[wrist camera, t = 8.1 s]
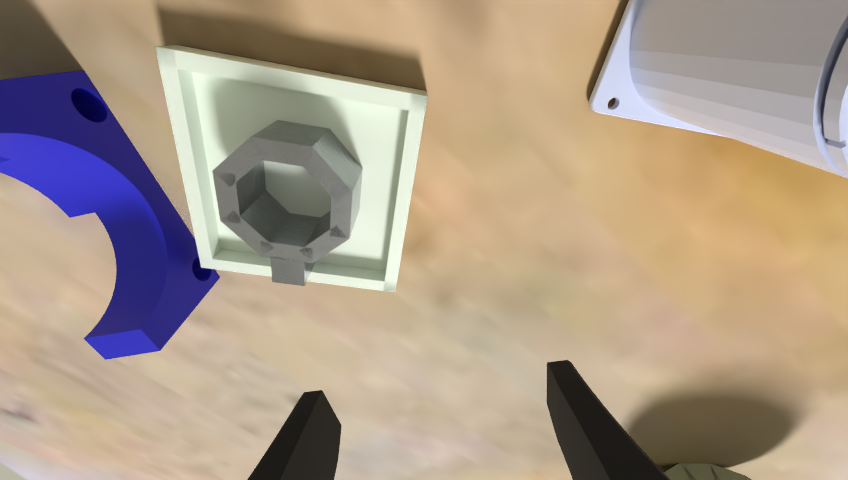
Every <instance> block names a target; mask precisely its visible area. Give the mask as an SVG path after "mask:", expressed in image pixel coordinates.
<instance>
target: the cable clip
mask: <svg viewBox="0 0 848 480" xmlns="http://www.w3.org/2000/svg"><path fill="white" fill-rule="evenodd" d="M0 172H1V173H3V174H6V175H8V176H11V177H13V178H16V179H18V180H20V181H22V182H24V183H26V184H28V185H29V186H31V187H33V188H34V189H36V190H38V191H39V192H41V193H42V194H44V195H45V196H47V197H48V198H49V199H51V200H52V201H53V202H54V203H55V204H57V205H58V206H59V207H60V208H61V209H62V210H63V211H64V212H65V213H66V214H67V215H68V216H69V217H75V216H79V215H84V214H89V213H94V212H95V213H96V214H97V216H98V217H99V219H100V220H101V222H102V223H103V225H104V226H105V228H106V230H107V232H108V234H109V237H110V239H111V241H112V244H113V248H114V251H115V257H116V266H117V274H116V283H115V289H114V292H113V296H112V299H111V301H110V304H109V306H108V308H107V310H106V312H105V314H104V315H103V317H102V318H101V320H100V321H99V323H98V324H97V325H96V326H95V327H94V329H93V330H92V331H91V332H90V333H89V334H88V335H87V336H86V337H85V338H84V339H85V340H86V341H87V342H88V343H89V344H90V345H91V346H92V347H93V348H94V349H95V350H96V351H97V352H98V353H99V354H100V355H101V356H102V357H103V358H104V359H112V358H118V357H124V356H130V355H137V354H143V353H149V352H155V351H160V350H161V349H162V348H163V347H164V345H165V344H166V343H167V342H168V340H169V339H170V338H171V337H172V335H173V334H174V333H175V332H176V331H177V329H178V328H179V327H180V326H181V324H182V323H183V322H184V321H185V320H186V318H187V317H188V316H189V315H190V313H191V312H192V311H193V310H194V309H195V307H196V306H197V305H198V304H199V302H200V301H201V300H202V299H203V298H204V296H205V295H206V294H207V293H208V291H209V290H210V289H211V288H212V287H213V285H214V284H215V283H216V282H217V280H218V279H219V278H220V277H219V275H218V274H217V272H216V270H215V269H209V268H201V264H200V260H199V255H198V250H197V245H196V240H195V239H194V237H193V235H192V234H191V232H190V231H189V229H188V228H187V226H186V225H185V223H184V222H183V220H182V219H181V217H180V216H179V214H178V213H177V211H176V210H175V208H174V207H173V205H172V203H171V202H170V200H169V199H168V197H167V196H166V194H165V193H164V191H163V190H162V188H161V187H160V185H159V184H158V182H157V181H156V179H155V178H154V176H153V175H152V173H151V171H150V170H149V168H148V167H147V165H146V164H145V162H144V161H143V159H142V158H141V156H140V155H139V153H138V152H137V150H136V149H135V147H134V146H133V144H132V143H131V141H130V140H129V138H128V136H127V135H126V133H125V132H124V130H123V129H122V127H121V126H120V124H119V123H118V121H117V120H116V118H115V117H114V115H113V114H112V112H111V111H110V109H109V108H108V106H107V104H106V103H105V101H104V100H103V98H102V97H101V95H100V94H99V92H98V91H97V89H96V88H95V86H94V85H93V83H92V82H91V80H90V79H89V77H88V76H87V74H86V73H85V71H84V70H82V71H73V72H65V73H56V74H47V75H39V76H30V77H21V78H13V79H4V80H0Z"/></svg>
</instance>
